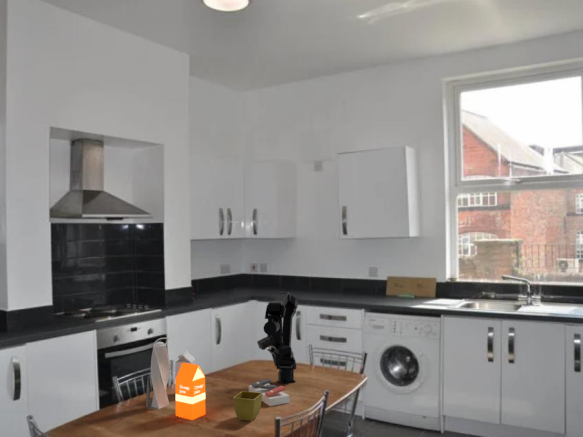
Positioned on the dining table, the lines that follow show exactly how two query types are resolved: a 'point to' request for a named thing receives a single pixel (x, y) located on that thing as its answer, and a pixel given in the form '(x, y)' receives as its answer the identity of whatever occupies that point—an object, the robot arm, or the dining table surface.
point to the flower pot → (247, 405)
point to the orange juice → (190, 392)
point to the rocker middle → (267, 386)
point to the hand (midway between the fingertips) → (276, 365)
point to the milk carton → (183, 359)
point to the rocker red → (275, 391)
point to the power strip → (272, 400)
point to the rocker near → (261, 382)
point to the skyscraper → (159, 376)
